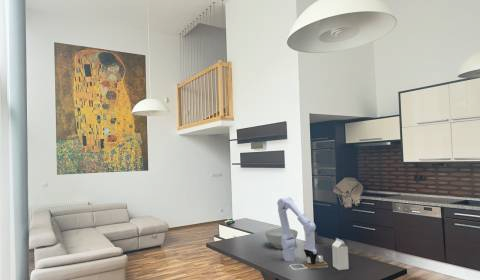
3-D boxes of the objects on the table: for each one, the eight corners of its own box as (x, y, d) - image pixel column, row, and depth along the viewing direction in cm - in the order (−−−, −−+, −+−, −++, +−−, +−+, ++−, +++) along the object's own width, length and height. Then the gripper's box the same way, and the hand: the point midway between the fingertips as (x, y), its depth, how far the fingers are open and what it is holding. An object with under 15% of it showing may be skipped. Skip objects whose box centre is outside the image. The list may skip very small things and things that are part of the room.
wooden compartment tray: (303, 266, 205) (302, 261, 205) (323, 264, 208) (322, 259, 208) (307, 270, 198) (307, 265, 198) (328, 268, 200) (328, 263, 201)
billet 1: (306, 265, 204) (306, 255, 204) (312, 265, 204) (311, 255, 205) (308, 267, 200) (308, 257, 200) (314, 267, 200) (314, 257, 201)
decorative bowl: (258, 247, 253) (258, 232, 254) (277, 240, 273) (277, 226, 274) (286, 253, 235) (285, 237, 236) (304, 245, 255) (303, 230, 256)
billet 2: (315, 264, 205) (315, 254, 206) (321, 264, 206) (321, 254, 206) (318, 266, 201) (318, 256, 202) (324, 266, 202) (323, 256, 202)
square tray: (288, 267, 205) (288, 264, 205) (301, 265, 207) (301, 263, 207) (293, 271, 196) (293, 269, 196) (307, 270, 198) (306, 268, 198)
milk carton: (338, 271, 194) (337, 241, 195) (333, 268, 201) (331, 238, 202) (348, 270, 196) (347, 240, 197) (342, 267, 203) (341, 237, 204)
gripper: (300, 238, 210) (301, 259, 209) (309, 244, 196) (309, 266, 195) (309, 238, 211) (310, 258, 210) (319, 243, 197) (320, 265, 196)
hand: (311, 262), depth 203 cm, fingers open, 6 cm apart
